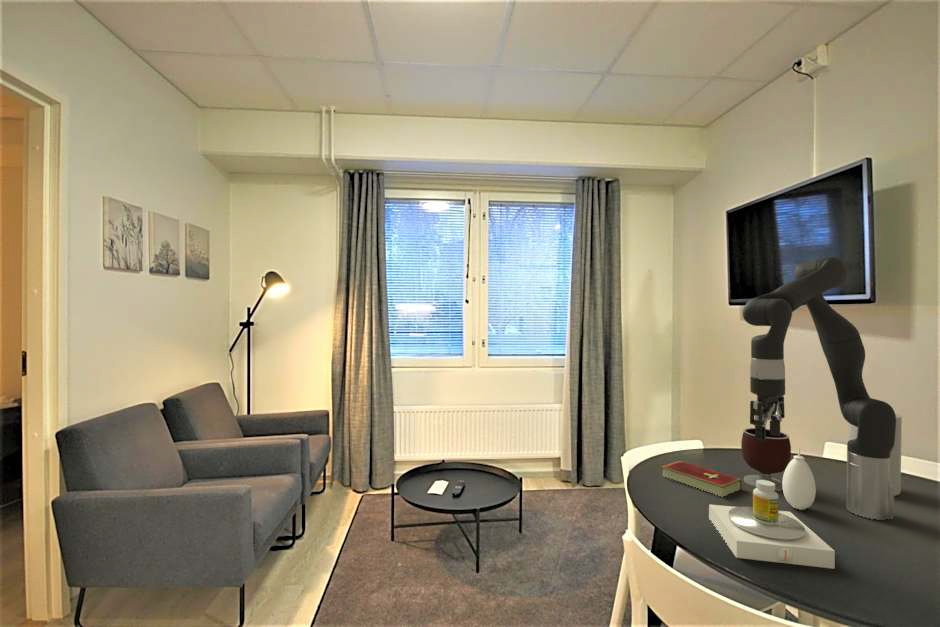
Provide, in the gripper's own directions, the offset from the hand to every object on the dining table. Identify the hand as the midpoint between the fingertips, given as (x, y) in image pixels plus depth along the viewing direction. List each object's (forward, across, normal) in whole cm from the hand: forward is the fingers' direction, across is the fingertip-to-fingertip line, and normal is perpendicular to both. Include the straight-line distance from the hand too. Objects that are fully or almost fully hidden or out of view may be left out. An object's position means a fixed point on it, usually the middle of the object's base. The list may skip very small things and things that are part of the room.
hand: (767, 438), depth 115 cm
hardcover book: (+26, -20, -28) cm, 43 cm away
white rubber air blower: (+26, -24, -2) cm, 35 cm away
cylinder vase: (+26, -62, +6) cm, 68 cm away
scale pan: (+20, +5, +1) cm, 21 cm away
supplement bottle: (+20, +5, +1) cm, 20 cm away
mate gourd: (+26, -38, -16) cm, 49 cm away
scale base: (+25, +5, +1) cm, 25 cm away
